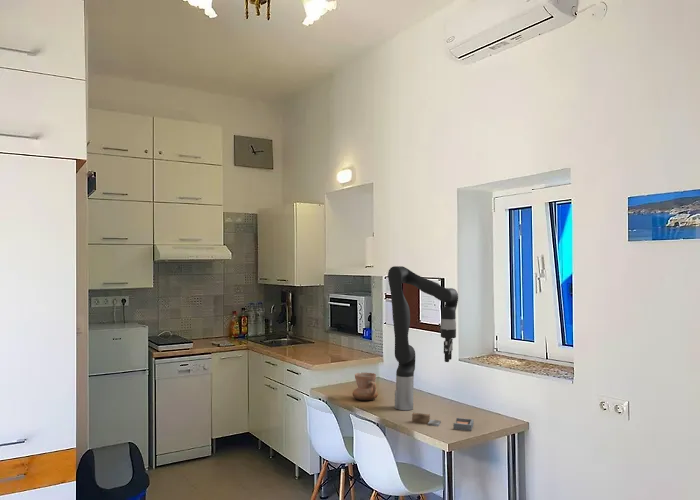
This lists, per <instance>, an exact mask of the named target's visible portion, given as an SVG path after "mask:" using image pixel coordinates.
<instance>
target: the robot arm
mask: <svg viewBox="0 0 700 500" xmlns="http://www.w3.org/2000/svg"><path fill="white" fill-rule="evenodd" d="M387 280H388V285H389V290H390V291H389V292H390V297H391V307H392V308H391V311H392V322H393V332H394V357H395V360H396V362H397V363H398V365H397V366H398V367H397V368H396V373H395V375H396V377H395V379H396V380H395V382H396V383H395V390H394V409H396V410H400V411H412V410H414V390H415V389H414V385H415V383H414V382H415V381H414V379H415V377H414V376H415V375H414V373H415V370H416V351H415V348H414V347H413V346H412V345H410V343H409V332H410V326H411V311H410V310H411V309H410V306H409V304H408V301H407V299H406V297H405V295H404V291H403V284H407V285H412V286H414V287H415V288H416V289H418V290H419V291H421V292H423V293H425V294H427V295H429V296H432V297H434V298H435V299H437V300H439V301H440V302H443V303H445V304H444V306H443V307H442V308H441V316H440V317H441V320H440V337H441V338H442V339H444V341H443V354H444V363H450V360H452V357H453V356H452V353H453V340H454V339H455V338H456V337H457V320H456V319H457V317H456V310H457V307H458V302H459V294H458V293H459V292H458V291H457V290H456V289H455V288H453V287H448V288H447V287H444V286H441V284H440V283H438V282H436V281H433V280H431V279H427V278H425V277H423V276H422V275H418V274H417V273H414V272H413V271H412V270H410V269H408V268H407V267H405V266H401V265H400V266H398V265H397V266H396V265H394V266H391V267H390V268H389V269H388V273H387Z"/></svg>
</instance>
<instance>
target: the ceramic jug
mask: <svg viewBox="0 0 700 500" xmlns="http://www.w3.org/2000/svg"><path fill="white" fill-rule="evenodd" d="M376 378H377V374H376V373H373V372H356V373H354V379H355V382H356V385H357V387H356V388H355V389H354V390H352V395H351V396H353V398H354V399H356V400H359V401H368V402H369V401H372V400H375V399H377V398H378V397H379V393H378V391H377V384H376Z"/></svg>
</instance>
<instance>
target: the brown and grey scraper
mask: <svg viewBox="0 0 700 500" xmlns="http://www.w3.org/2000/svg"><path fill="white" fill-rule="evenodd" d="M411 416H412V417H411V418H412V420H411V423H416V424H417V423H418V424H423V425H427V426H429V427H430V426H431V427H439V426H440V424H441V423H442V420H438V419H437V420H436V419H431V417H430V416H431V415H430V413H429V414H428V413H419V412H413V413H412V414H411Z"/></svg>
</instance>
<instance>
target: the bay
mask: <svg viewBox="0 0 700 500" xmlns="http://www.w3.org/2000/svg"><path fill="white" fill-rule="evenodd" d="M455 418H456V419H455V421H456V422H454V423H453V430H461V431H470V432H471V431H472V430H473V428H474V424H475V423H474V420H475V419H472V418H464V417H455ZM458 421H459V422H468V424H459V423H457V422H458Z"/></svg>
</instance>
